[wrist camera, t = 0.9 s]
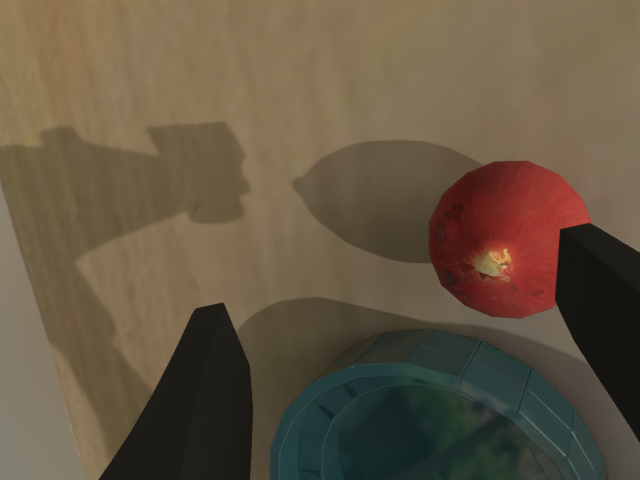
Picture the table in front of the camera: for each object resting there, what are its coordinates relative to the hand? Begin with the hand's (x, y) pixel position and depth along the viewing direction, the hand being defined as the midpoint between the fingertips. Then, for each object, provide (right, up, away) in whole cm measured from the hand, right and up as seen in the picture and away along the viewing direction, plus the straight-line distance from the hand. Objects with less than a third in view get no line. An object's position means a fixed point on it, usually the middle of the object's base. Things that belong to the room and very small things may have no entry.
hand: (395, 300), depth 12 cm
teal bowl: (+5, -10, +17) cm, 20 cm away
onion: (+7, +2, +13) cm, 15 cm away
